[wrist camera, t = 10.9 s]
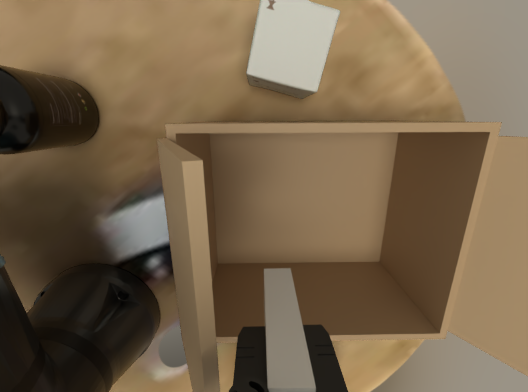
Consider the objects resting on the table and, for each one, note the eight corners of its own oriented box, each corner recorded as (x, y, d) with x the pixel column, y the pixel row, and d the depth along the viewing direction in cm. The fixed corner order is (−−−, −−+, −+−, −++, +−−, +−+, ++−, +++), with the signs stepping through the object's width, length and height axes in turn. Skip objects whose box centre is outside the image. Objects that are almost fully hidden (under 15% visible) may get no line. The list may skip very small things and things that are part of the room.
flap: (189, 334, 21) (181, 337, 21) (166, 138, 16) (156, 138, 16) (227, 491, 12) (215, 499, 12) (202, 160, 8) (181, 161, 7)
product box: (247, 85, 27) (243, 73, 20) (261, 21, 25) (262, -17, 18) (303, 100, 27) (317, 94, 20) (319, 38, 26) (342, 7, 19)
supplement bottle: (58, 153, 28) (-78, 176, 17) (23, 91, 27) (-158, 69, 15) (113, 133, 28) (10, 143, 16) (81, 68, 26) (-60, 29, 15)
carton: (214, 265, 33) (190, 343, 21) (204, 121, 28) (165, 123, 16) (381, 263, 33) (445, 338, 22) (402, 121, 28) (501, 122, 17)
